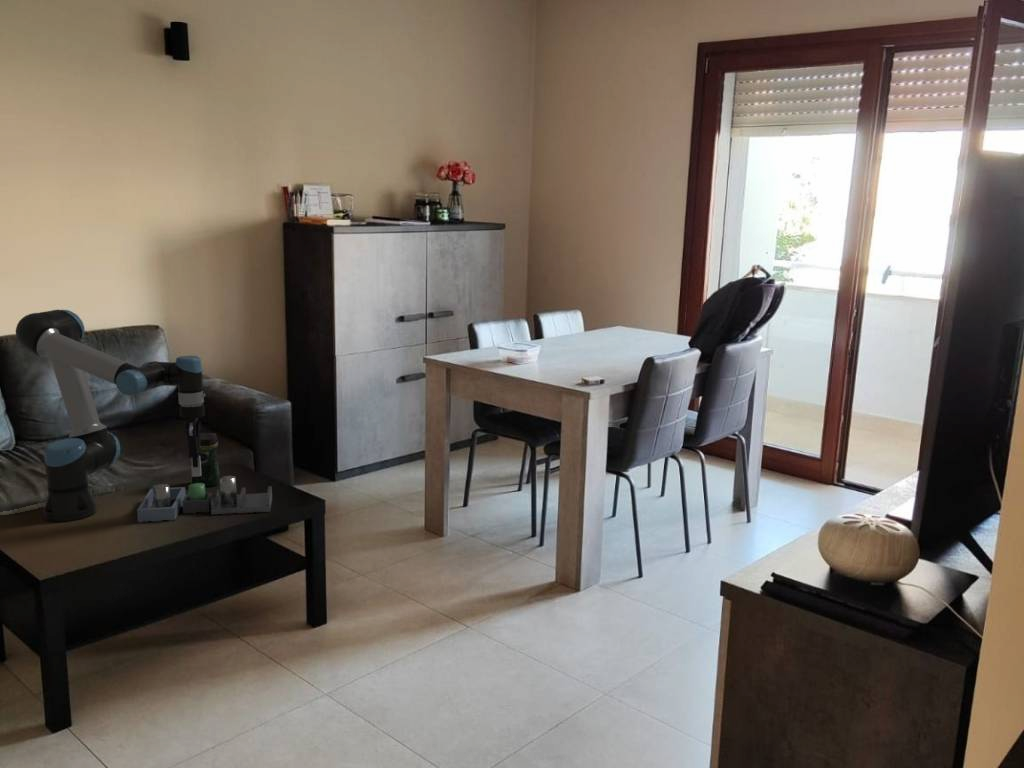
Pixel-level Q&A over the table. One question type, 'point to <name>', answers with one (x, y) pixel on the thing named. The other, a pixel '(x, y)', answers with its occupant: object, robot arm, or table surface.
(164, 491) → the billet
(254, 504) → the pallet
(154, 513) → the tote
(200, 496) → the button
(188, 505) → the button housing
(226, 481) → the seated billet
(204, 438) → the coffee jar
